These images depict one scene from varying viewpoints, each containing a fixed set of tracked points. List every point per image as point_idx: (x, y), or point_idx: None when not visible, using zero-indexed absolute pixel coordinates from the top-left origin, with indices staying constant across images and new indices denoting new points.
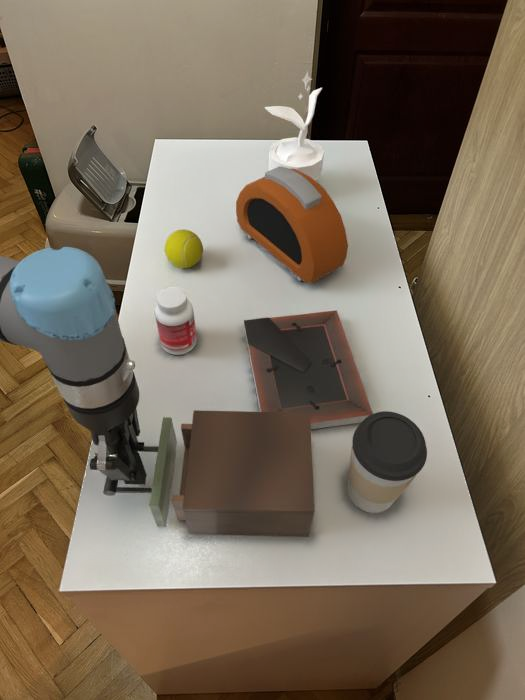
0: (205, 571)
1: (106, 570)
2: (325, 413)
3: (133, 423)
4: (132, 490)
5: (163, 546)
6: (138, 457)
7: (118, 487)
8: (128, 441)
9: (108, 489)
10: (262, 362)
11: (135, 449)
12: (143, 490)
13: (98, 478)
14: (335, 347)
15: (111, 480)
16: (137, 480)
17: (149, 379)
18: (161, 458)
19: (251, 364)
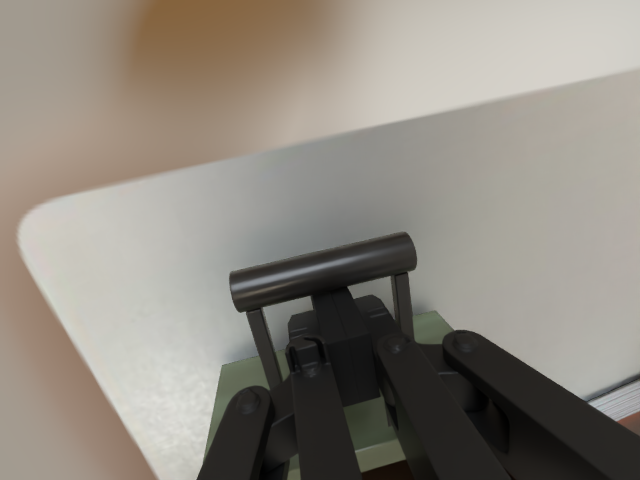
0: (172, 457)
1: (85, 288)
2: None
3: (516, 471)
4: (263, 355)
5: (191, 376)
6: (362, 398)
7: (260, 315)
8: (415, 466)
9: (238, 300)
10: (636, 429)
11: (388, 413)
12: (272, 382)
13: (310, 166)
14: None
15: (273, 295)
16: (313, 307)
17: (609, 184)
18: (371, 459)
19: (628, 398)
